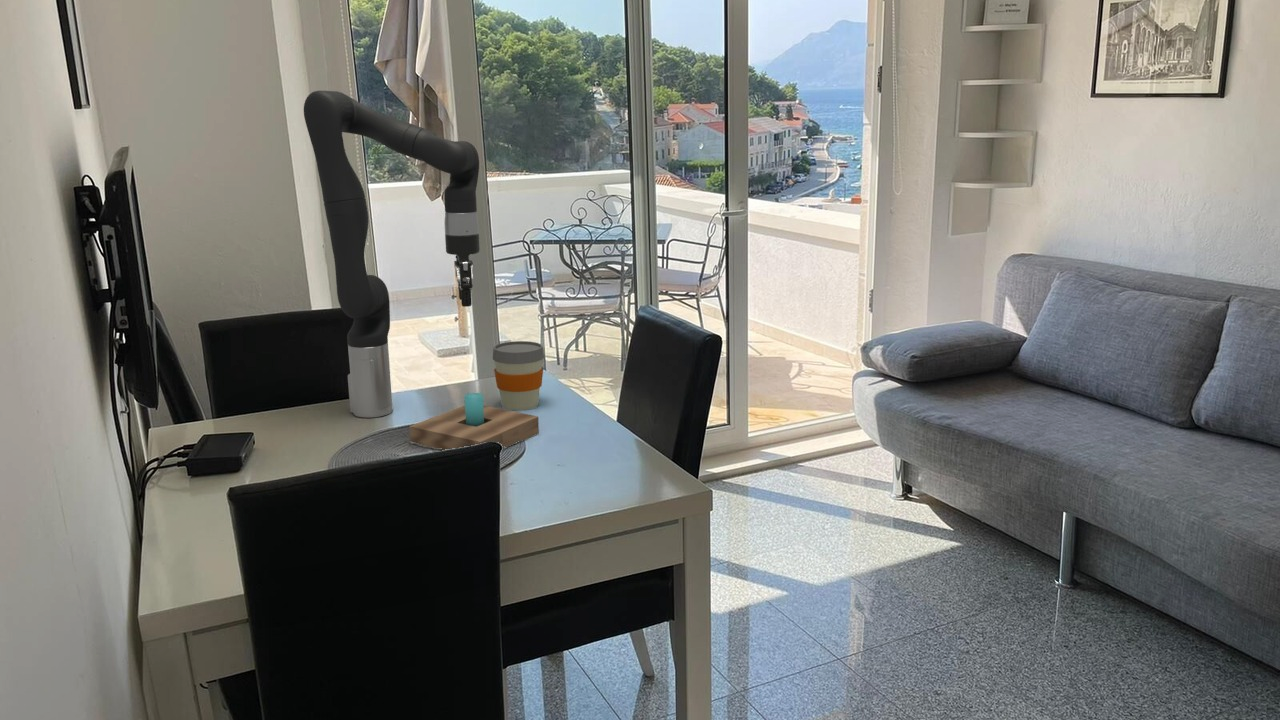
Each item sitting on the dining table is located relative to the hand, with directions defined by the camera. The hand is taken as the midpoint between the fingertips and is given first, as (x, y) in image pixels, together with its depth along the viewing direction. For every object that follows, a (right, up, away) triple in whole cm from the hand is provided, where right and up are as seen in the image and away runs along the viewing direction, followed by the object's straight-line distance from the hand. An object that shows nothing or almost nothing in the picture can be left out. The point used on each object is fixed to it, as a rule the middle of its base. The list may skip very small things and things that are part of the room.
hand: (465, 302), depth 212 cm
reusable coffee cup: (+10, -25, +18) cm, 32 cm away
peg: (+3, -31, -6) cm, 31 cm away
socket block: (+3, -31, -6) cm, 31 cm away
